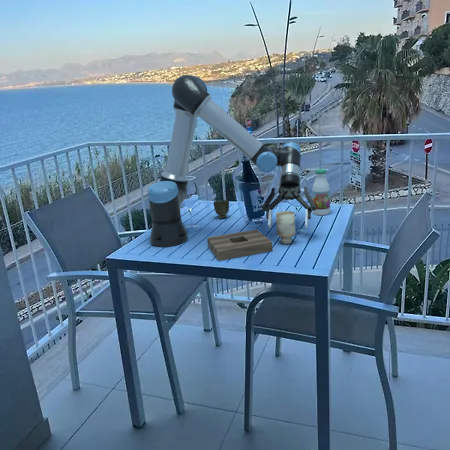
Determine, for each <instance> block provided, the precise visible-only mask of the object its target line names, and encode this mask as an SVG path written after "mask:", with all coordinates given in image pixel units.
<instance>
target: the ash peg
mask: <svg viewBox="0 0 450 450" xmlns="http://www.w3.org/2000/svg"><path fill="white" fill-rule="evenodd" d="M295 216H296V215H295V212H294V211H292V210H281V211H277V212H276V214H275V220H276V222H275V224H276V235H277V236H278V237H279V238H280V243H281V244H282V245H289V244H292V242H293V239H292V238H293V237H294V236H295V235H296V217H295Z"/></svg>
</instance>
